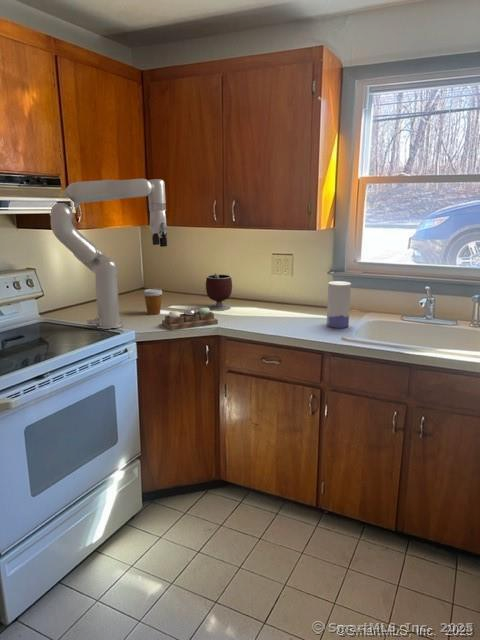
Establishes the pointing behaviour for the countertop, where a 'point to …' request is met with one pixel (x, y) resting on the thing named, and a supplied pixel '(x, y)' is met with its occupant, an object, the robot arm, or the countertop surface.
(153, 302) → the disposable coffee cup
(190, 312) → the grey button
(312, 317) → the countertop surface
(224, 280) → the mate gourd
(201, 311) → the sage button
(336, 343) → the countertop surface
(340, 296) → the container
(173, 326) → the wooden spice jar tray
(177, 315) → the cream button
